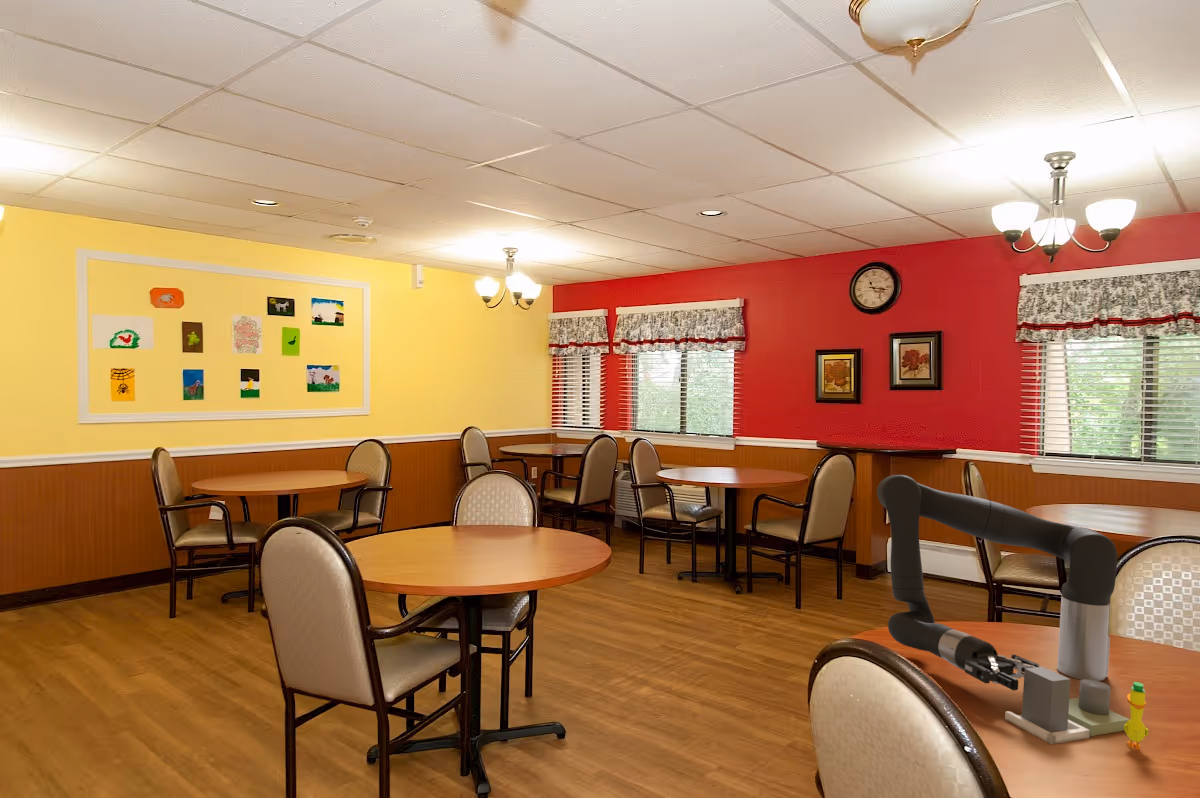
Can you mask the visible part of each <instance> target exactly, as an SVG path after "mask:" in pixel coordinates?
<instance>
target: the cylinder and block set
mask: <svg viewBox="0 0 1200 798" xmlns="http://www.w3.org/2000/svg"><path fill="white" fill-rule="evenodd" d="M1111 690H1112V688H1111V686H1110V685H1108V683H1105V682H1102V681H1095V680H1089V679H1083V680H1082V679H1079V692H1078V693H1079V694H1078V696H1077V697H1073V698H1069V712H1068V728H1067V731H1060V732H1054V733H1050V732H1048V731H1046V730H1045V729H1043V728H1041V727H1039V726H1037V725H1035V724H1033V723H1031V722H1029V721H1027V720H1025V719H1024V718H1022V714H1016V713H1014V712H1012V711H1010V710H1006V711H1005V713H1004V720H1006V721H1007V722H1009V721H1010V722H1009V723H1012V724H1013V725H1014V726H1015V725H1016V727H1019V728H1021V729H1023V730H1024V731H1026V732H1028V733H1030V734H1031V735H1034V736H1036V737H1038V738H1039V739H1041V740H1043V741H1044V742H1046V743H1048V744H1049V745H1054V744H1055V745H1056V744H1061V743H1068V742H1074V741H1079V740H1085V739H1086V740H1087V739H1090V736H1091V737H1093V736H1100V735H1105V734H1111V733H1116V732H1122V731H1124V724H1126V722H1127V721H1129V720H1130V719H1131V718H1129V717H1126V716H1124V715H1121V714H1119V713H1116V712H1114V711H1112V710H1111V709H1110V707H1111V703H1110V702H1111ZM1124 732H1125V731H1124Z"/></svg>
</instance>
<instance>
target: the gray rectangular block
mask: <svg viewBox="0 0 1200 798" xmlns="http://www.w3.org/2000/svg"><path fill="white" fill-rule="evenodd" d="M1023 673H1024V677H1023V691H1022V692H1023V693H1022V707H1021V715H1022V718H1024V719H1025V720H1027V721H1029V722H1031V723H1033V724H1035V725H1037V726H1039V727H1041V728H1043V729H1045V730H1046V731H1048V732H1050V733H1054V732H1060V731H1067V728H1068V712H1069V699H1070V695H1071V694H1070V693H1071V692H1070V691H1071V678H1069V677H1067V676H1065V675H1062V674H1060V673H1058V672H1056V671H1053V670H1051V669H1048V668H1046V667H1044V666H1039V667H1034V668H1025V671H1024V672H1023Z"/></svg>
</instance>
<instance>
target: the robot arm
mask: <svg viewBox="0 0 1200 798" xmlns="http://www.w3.org/2000/svg"><path fill="white" fill-rule="evenodd" d="M876 495H877V499H878V501H879V503H880V505H881V506H883V508H885V509H886V511H887V516H888V521H889V527H890V537H891V539H890V540H891V541H890V542H891V544H890V545H891V546H890V548H891V549H890V579H891V586H892V587H891V589H892V596H893V598H894V599H895V600H896V601H899V602H901V603H902V602H903V603H906V604H907V607H908V609H909V611H902V612H901V611H900V612H897V613H894V614H892V615H891V616H890V617H889V619H888V622H887V630H888V632H889V634H890V636H891V637H892V638H893V639H894V640H895V641H896V642H897V643H899V644H901V645H903V646H906V647H908V648H912V649H916V650H919V651H925V652H929V653H931V654H933V655H934V656H936V657H938V658H941V659H943V660H945V661H946V662H948V663H949V664H951V665H952V666H954V667H956V668H958V669H960V670H962V671H964V673H965V674H967V675H969V676H971V677H973V678H974V679H976V680H978V681H980V682H982V683H984V684H990V682H992V683H994V684H995V685H998V684H1000V685H1001V686H1003V687H1006V688H1007V689H1010V690H1012V691H1018V690H1019V680H1018V679H1021V678H1024V671H1025V668H1034V667H1040V664H1039V663H1037V662H1034V661H1032V660H1029V659H1026V658H1025V657H1022V656H1020V655H1017V654H1011V657H1007V656H1006V655H1003V654H999V653H998V652H997V650H996V648H995V647H994V645H993V644H991V643H990V642H987V641H985V640H983V639H980V638H978V637H976V636H973V635H972V634H969V633H967V632H964V631H962V630H961V631H960V630H957V629H954V628H952V627H950V626H947V625H945V624H942V623H939V622H935V619H934V615H933V613H932V609H931V607H930V605H929V601H928V600H927V597H926V594H925V585H924V577H923V576H924V575H923V566H922V557H921V547H920V517H922V518H927V519H930V520H932V521H933V520H934V521H936V522H939V523H940V524H943V525H945V526H947V527H950V528H952V529H954V530H957V531H960V532H962V533H965V534H967V535H971V536H972V537H976V538H980V539H982V540H986V541H989V542H993V543H997V544H1002V545H1007V546H1015V547H1021V548H1022V547H1024V548H1030V549H1035V550H1039V551H1042V552H1045V553H1047V554H1050V555H1052V556H1054V557H1055V556H1056V557H1057V558H1059V559H1062V560H1064V561H1066V562H1068V563H1069V565H1068V567H1069V568H1068V578H1067V581H1066V582H1064V583H1063V584H1062V586H1061V600H1060V616H1059V633H1058V634H1059V635H1058V647H1057V648H1058V649H1057V650H1058V651H1057V664H1056V665H1057V666H1056V667H1057V670H1058V671H1059V672H1060V673H1062V674H1064V675H1066V676H1068V677H1071V678H1074V679H1079V680H1083V679H1089V680H1095V681H1099V682H1102V681H1104V680H1105V679H1106V677H1109V676H1108V675H1109V663H1110V662H1109V661H1110V646H1111V645H1110V643H1111V635H1109V626H1110V625H1109V621H1110V607H1111V606H1110V605H1111V604H1110V603H1111V597H1112V595H1113V594H1114V591H1115V586H1116V578H1117V571H1118V570H1117V569H1118V567H1117V566H1118V552H1117V551H1118V550H1117V548H1116V544H1115V543H1114V542H1113V541H1112V540H1111V539H1110V538H1109V537H1107V536H1106V535H1104V534H1102V533H1100V532H1098V531H1096V530H1093V529H1091V528H1088V527H1082V526H1078V525H1071V524H1065V523H1060V522H1056V521H1051V520H1048V519H1047V520H1046V519H1043V518H1041V517H1037V516H1035V515H1033V514H1030V513H1028V512H1026V511H1023V510H1021V509H1017V508H1015V507H1012V506H1010V505H1007V504H1003V503H1000V502H997V501H992V500H990V499H986V498H982V497H981V498H980V497H978V496H977V497H976V496H973V495H965V494H961V493H954V492H947V491H942V490H939V489H935V488H932V487H929V486H927V485H923V484H921V483H919V482H917V481H916V480H915V479H914V478H912V476H911V477H910V476H908V475H904V474H892V475H889V476H886V477H885V478H883V479H882V480H881V481H880V482H879V484H878V485H877V487H876ZM1014 670H1017V671H1016V672H1014Z"/></svg>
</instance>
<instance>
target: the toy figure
mask: <svg viewBox="0 0 1200 798" xmlns="http://www.w3.org/2000/svg"><path fill="white" fill-rule="evenodd" d="M1144 687H1145V686H1144V684H1143V683H1141V682H1138V681H1133V683H1132V686H1130V693H1128V694H1127V695H1126V697H1127V702H1128V704H1129V709H1130V718H1129V719H1130V720H1129V721H1127V722H1126V724H1124V732H1125V734H1126V736H1127V738H1129V739H1128V740H1127V742H1126V745H1127V747H1128V748H1130V749H1132V750H1134V749H1135V750H1137V751H1140V750H1141V749H1140V748H1141V744H1140V742H1141V741H1143V739H1145V737H1148V736H1149V732H1150V731H1149V728H1147V727H1146V726H1145V724H1144V722H1143V721H1142V719H1143V714H1144V710H1145V707H1146V706H1147V703H1146V689H1144Z"/></svg>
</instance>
